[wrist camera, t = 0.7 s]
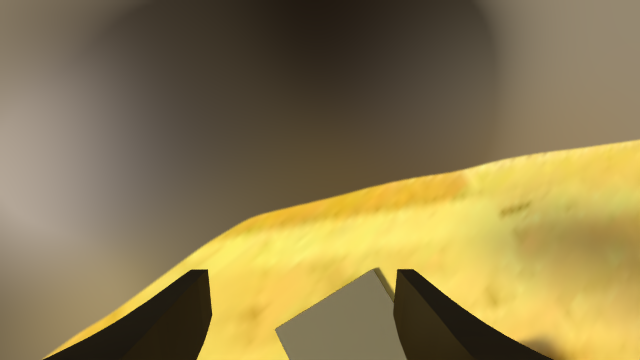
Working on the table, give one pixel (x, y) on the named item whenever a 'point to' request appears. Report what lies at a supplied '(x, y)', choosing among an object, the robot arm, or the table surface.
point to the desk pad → (345, 326)
